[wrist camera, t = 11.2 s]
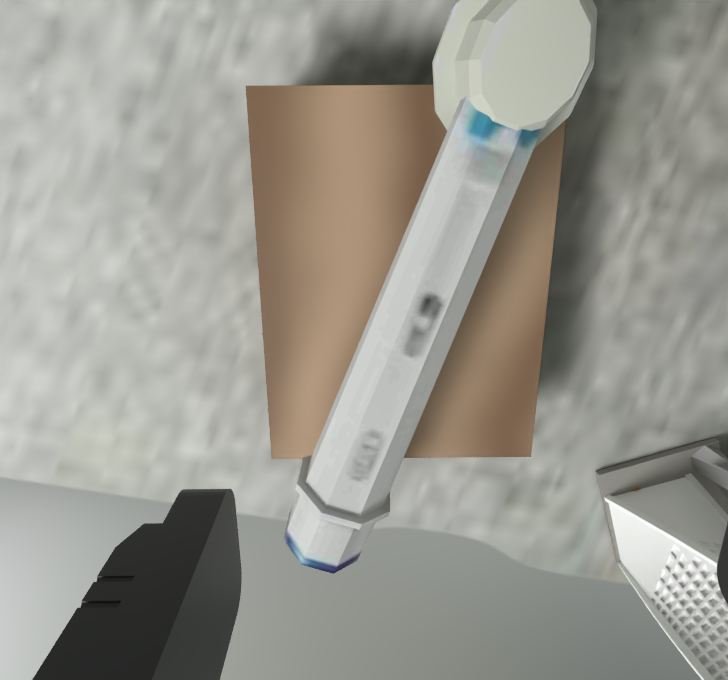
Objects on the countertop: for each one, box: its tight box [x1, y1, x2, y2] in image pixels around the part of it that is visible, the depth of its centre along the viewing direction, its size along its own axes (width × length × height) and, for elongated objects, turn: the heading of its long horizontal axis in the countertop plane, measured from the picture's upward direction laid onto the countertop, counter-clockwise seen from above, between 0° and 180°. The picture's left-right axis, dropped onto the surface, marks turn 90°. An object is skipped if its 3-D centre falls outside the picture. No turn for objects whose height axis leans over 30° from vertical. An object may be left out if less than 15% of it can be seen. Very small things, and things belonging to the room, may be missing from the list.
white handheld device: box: [283, 0, 597, 573], centre depth 22 cm, size 5×7×25 cm
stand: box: [246, 85, 566, 459], centre depth 26 cm, size 13×17×4 cm
